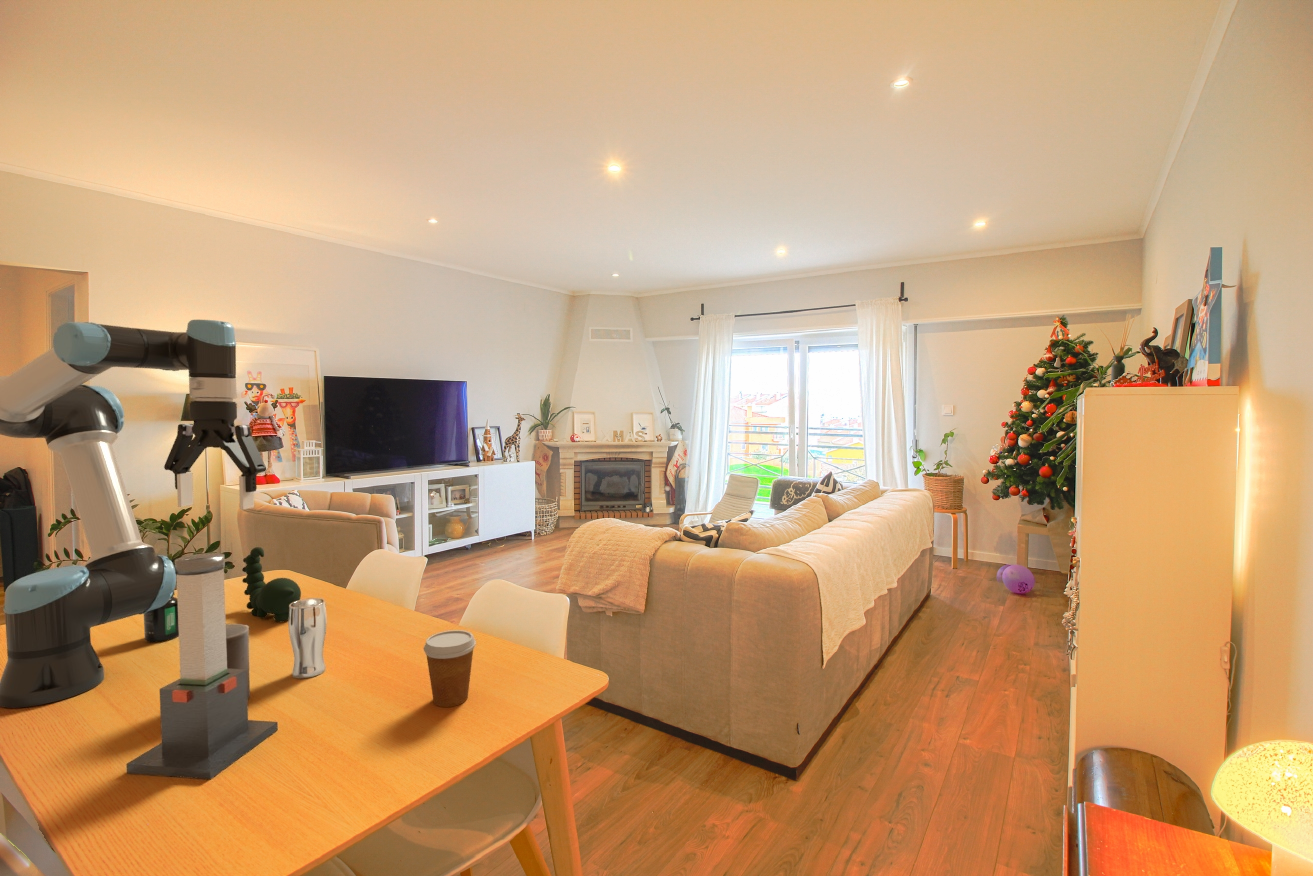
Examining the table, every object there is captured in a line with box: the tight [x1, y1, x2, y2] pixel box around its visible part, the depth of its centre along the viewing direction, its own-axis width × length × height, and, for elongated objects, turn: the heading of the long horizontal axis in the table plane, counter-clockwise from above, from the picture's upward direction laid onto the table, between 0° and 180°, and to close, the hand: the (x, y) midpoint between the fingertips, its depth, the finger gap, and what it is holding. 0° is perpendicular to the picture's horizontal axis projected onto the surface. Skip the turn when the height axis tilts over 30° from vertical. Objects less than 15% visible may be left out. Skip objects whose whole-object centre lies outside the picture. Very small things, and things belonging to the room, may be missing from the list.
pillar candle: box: [226, 623, 251, 701], centre depth 115 cm, size 10×10×15 cm
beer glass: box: [288, 597, 328, 680], centre depth 128 cm, size 7×7×15 cm
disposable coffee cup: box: [423, 629, 477, 708], centre depth 116 cm, size 10×10×12 cm
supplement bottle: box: [143, 590, 179, 643], centre depth 147 cm, size 7×7×12 cm
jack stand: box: [126, 669, 279, 780], centre depth 99 cm, size 14×14×12 cm
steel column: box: [174, 552, 228, 687], centre depth 98 cm, size 6×6×24 cm
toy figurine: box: [241, 546, 302, 623], centre depth 162 cm, size 9×19×25 cm
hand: (216, 507), depth 120 cm, fingers open, 13 cm apart
